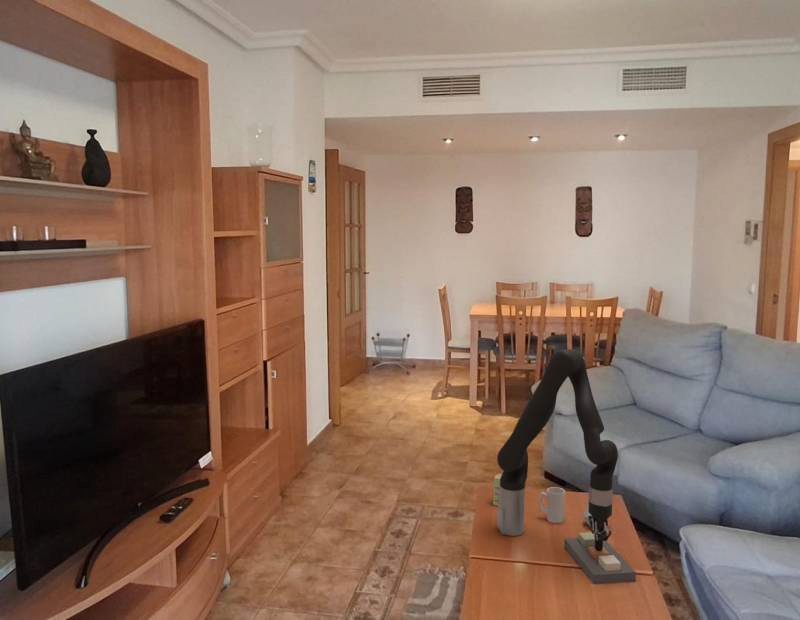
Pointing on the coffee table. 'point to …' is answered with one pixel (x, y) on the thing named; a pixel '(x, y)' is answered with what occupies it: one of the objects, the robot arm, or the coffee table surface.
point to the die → (587, 515)
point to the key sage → (586, 539)
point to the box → (496, 490)
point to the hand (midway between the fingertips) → (598, 549)
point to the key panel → (592, 566)
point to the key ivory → (609, 563)
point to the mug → (553, 504)
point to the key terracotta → (597, 552)
